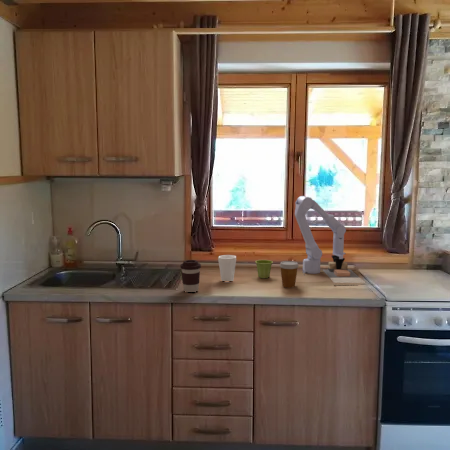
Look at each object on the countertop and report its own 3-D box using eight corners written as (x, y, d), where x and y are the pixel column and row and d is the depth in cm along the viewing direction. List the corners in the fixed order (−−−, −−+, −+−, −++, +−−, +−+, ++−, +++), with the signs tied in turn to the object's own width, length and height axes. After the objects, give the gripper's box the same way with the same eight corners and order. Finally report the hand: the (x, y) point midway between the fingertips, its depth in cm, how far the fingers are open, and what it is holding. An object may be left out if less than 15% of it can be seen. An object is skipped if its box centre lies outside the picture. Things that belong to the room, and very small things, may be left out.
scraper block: (329, 271, 261) (329, 263, 261) (327, 269, 265) (328, 262, 265) (347, 271, 261) (347, 263, 261) (345, 269, 265) (345, 261, 265)
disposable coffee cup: (287, 282, 245) (287, 260, 243) (302, 286, 238) (302, 262, 236) (275, 286, 238) (275, 262, 236) (290, 289, 231) (290, 266, 230)
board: (333, 285, 238) (334, 282, 238) (322, 272, 266) (322, 269, 266) (365, 285, 238) (365, 282, 238) (350, 271, 266) (350, 269, 266)
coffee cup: (182, 288, 235) (181, 259, 233) (201, 288, 235) (201, 259, 233) (179, 294, 225) (179, 263, 223) (200, 294, 225) (199, 263, 223)
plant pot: (260, 274, 262) (261, 259, 261) (275, 276, 257) (275, 261, 256) (252, 277, 255) (252, 262, 254) (267, 280, 249) (267, 264, 248)
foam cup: (215, 282, 246) (215, 257, 245) (222, 277, 255) (222, 254, 253) (232, 283, 243) (232, 259, 241) (238, 279, 251) (238, 255, 250)
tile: (336, 276, 250) (337, 272, 250) (333, 273, 257) (334, 269, 257) (350, 276, 250) (350, 272, 250) (346, 273, 257) (346, 269, 257)
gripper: (349, 247, 254) (348, 272, 256) (342, 242, 268) (341, 265, 270) (336, 247, 254) (335, 272, 256) (329, 242, 268) (329, 266, 270)
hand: (337, 269), depth 263 cm, fingers closed on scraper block, 4 cm apart
